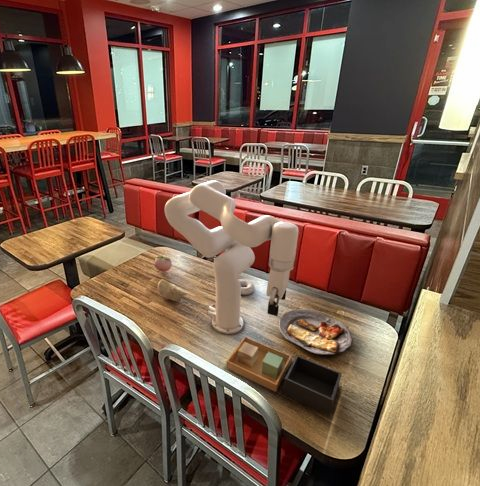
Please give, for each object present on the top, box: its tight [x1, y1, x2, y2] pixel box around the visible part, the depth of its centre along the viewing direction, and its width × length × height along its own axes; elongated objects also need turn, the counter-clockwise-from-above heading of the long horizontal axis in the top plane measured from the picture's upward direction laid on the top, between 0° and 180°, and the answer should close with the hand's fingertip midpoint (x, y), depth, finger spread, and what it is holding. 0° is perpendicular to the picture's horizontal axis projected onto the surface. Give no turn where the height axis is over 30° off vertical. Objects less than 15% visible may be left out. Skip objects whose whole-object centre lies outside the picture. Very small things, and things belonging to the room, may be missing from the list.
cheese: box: [157, 278, 188, 302], centre depth 141 cm, size 15×7×15 cm
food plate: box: [278, 308, 353, 356], centre depth 116 cm, size 25×23×4 cm
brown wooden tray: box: [225, 336, 293, 393], centre depth 104 cm, size 17×14×3 cm
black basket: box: [282, 354, 343, 417], centre depth 93 cm, size 13×11×6 cm
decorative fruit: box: [153, 254, 173, 273], centre depth 162 cm, size 9×8×10 cm
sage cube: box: [262, 352, 283, 379], centre depth 101 cm, size 5×5×5 cm
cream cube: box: [238, 342, 258, 368], centre depth 105 cm, size 5×5×5 cm
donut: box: [238, 279, 255, 296], centre depth 144 cm, size 10×3×10 cm
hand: (276, 306), depth 104 cm, fingers open, 9 cm apart
